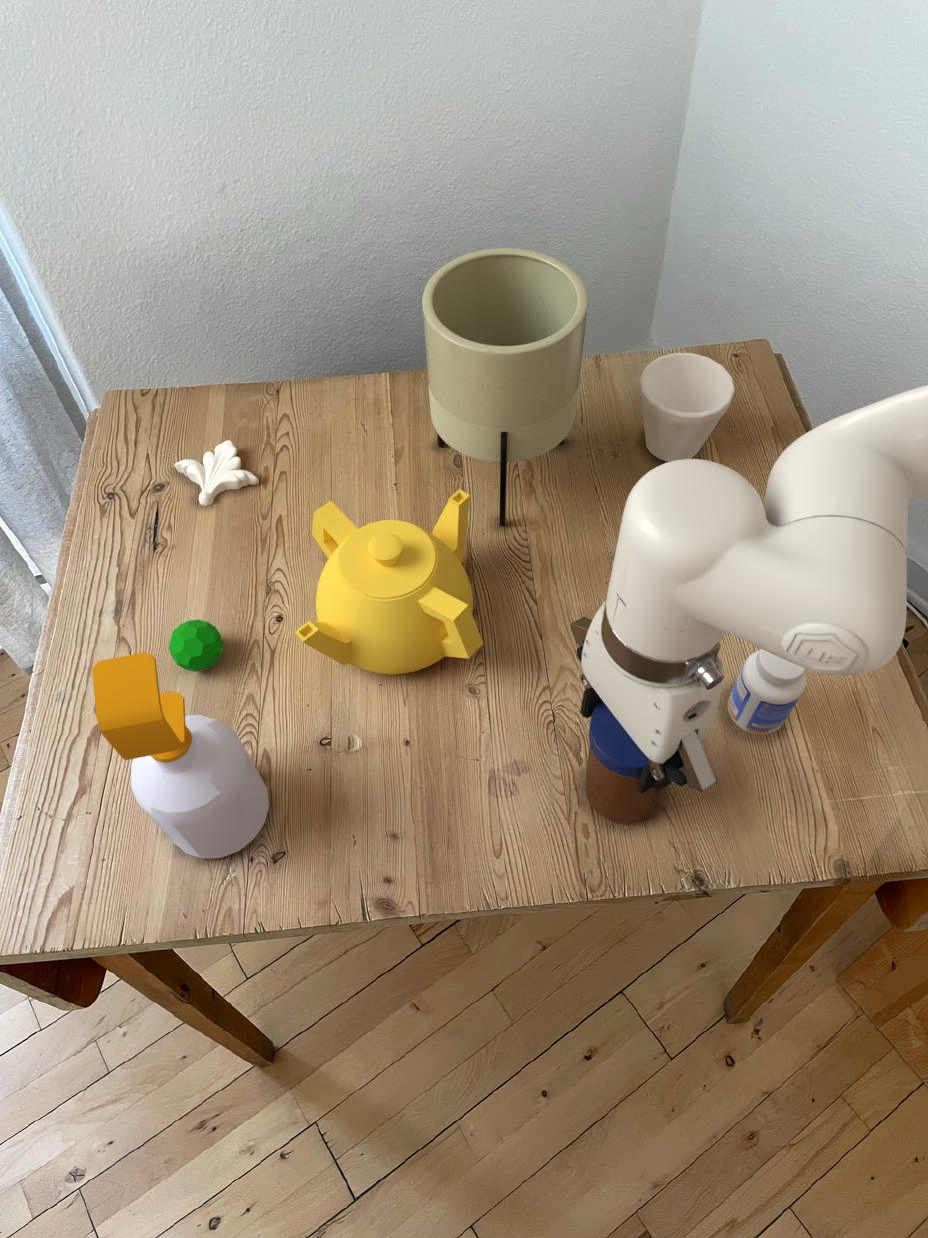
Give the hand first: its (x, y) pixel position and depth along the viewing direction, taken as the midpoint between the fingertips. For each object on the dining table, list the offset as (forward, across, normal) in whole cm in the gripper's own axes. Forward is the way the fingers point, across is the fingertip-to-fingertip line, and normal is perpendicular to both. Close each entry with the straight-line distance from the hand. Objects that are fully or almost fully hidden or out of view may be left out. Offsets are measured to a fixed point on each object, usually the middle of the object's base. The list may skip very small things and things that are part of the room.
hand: (625, 743), depth 70 cm
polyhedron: (+9, +32, +27) cm, 43 cm away
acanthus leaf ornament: (+9, +54, +16) cm, 57 cm away
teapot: (+9, +26, +8) cm, 29 cm away
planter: (+9, +38, -12) cm, 40 cm away
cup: (+9, +30, -30) cm, 44 cm away
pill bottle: (+9, -1, -16) cm, 18 cm away
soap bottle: (+9, +16, +31) cm, 36 cm away
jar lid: (-2, 0, 0) cm, 2 cm away
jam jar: (+9, -1, -1) cm, 9 cm away
